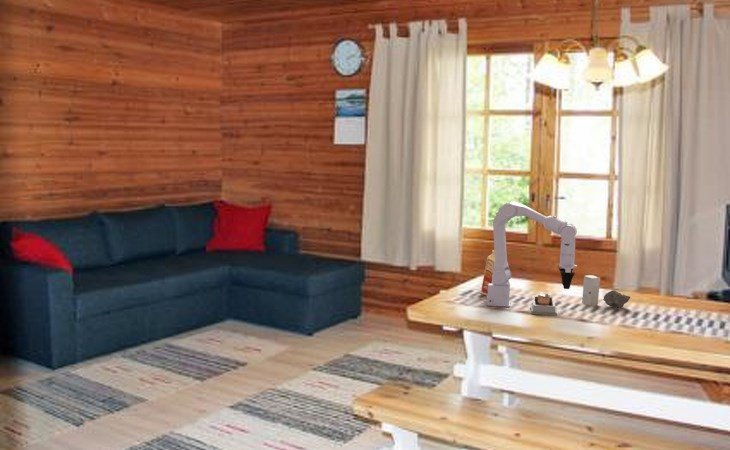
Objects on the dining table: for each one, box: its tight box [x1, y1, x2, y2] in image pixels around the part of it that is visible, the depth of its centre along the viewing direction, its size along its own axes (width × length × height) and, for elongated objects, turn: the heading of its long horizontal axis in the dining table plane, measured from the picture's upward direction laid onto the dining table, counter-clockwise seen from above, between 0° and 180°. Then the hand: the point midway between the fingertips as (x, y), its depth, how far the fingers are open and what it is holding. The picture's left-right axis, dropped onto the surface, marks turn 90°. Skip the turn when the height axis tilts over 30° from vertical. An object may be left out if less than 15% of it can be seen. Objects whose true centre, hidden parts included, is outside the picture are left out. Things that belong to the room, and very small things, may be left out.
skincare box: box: [581, 274, 601, 306], centre depth 304 cm, size 6×4×12 cm
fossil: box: [603, 289, 631, 309], centre depth 297 cm, size 11×9×8 cm
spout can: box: [537, 293, 551, 306], centre depth 289 cm, size 5×5×6 cm
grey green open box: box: [530, 295, 558, 316], centre depth 290 cm, size 10×11×5 cm
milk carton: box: [480, 249, 495, 297], centre depth 319 cm, size 9×9×20 cm
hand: (565, 286), depth 288 cm, fingers open, 7 cm apart
